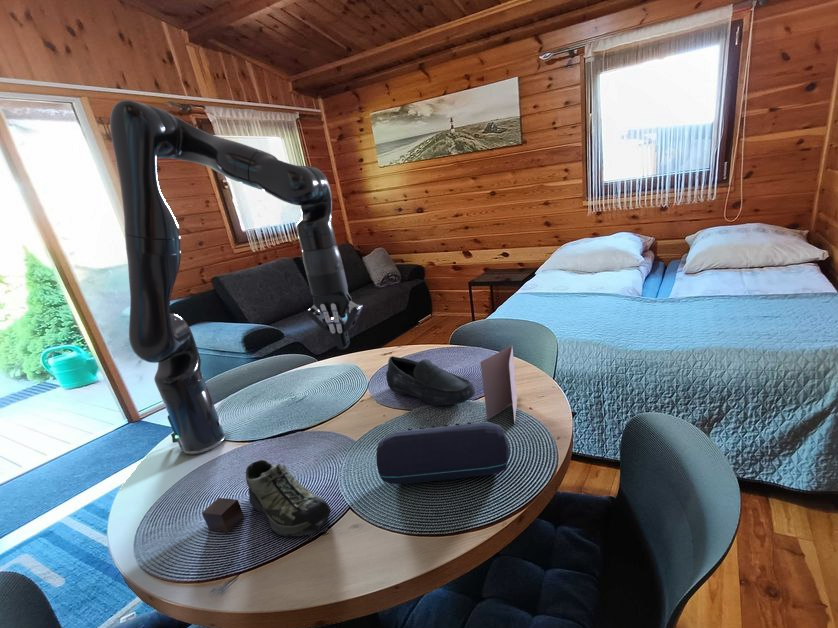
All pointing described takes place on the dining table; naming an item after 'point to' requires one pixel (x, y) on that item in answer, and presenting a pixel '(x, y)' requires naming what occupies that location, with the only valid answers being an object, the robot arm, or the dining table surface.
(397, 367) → the loafer
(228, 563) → the dining table surface
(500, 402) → the greeting card
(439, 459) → the portable speaker
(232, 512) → the block
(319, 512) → the hiking shoe
